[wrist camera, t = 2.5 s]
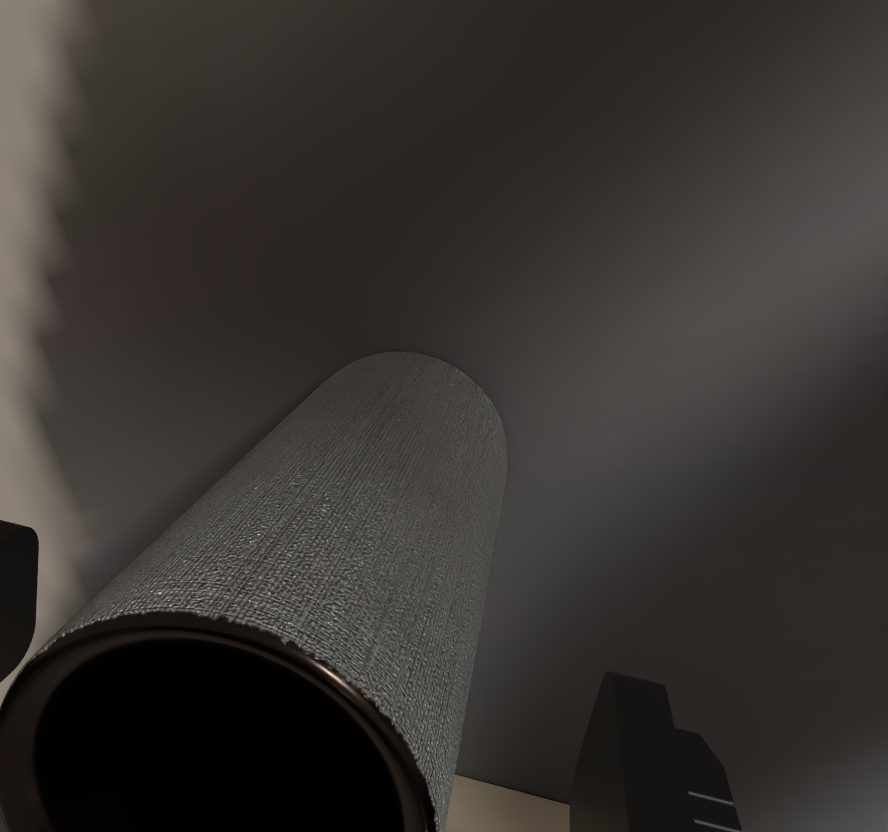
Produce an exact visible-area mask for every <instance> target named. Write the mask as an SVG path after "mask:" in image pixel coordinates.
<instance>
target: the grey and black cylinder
mask: <svg viewBox="0 0 888 832" xmlns="http://www.w3.org/2000/svg"><path fill="white" fill-rule="evenodd" d="M507 470H508V447H507V439H506V435H505V431H504V428H503V425H502V422H501V419H500V417H499V415H498V412H497V410H496V408H495V407H494V405H493V404H492V402H491V400H490V399H489V398H488V396H487V395H486V394H485V392H484V391H483V390H482V389H481V388H480V387H479V386H478V385H477V384H476V383H475V382H474V381H473V380H472V379H471V378H470V377H469V376H467V375H466V374H465V373H463V372H462V371H460V370H459V369H457V368H456V367H454V366H452V365H450V364H449V363H447V362H444V361H442V360H440V359H437V358H434V357H431V356H428V355H424V354H419V353H414V352H400V351H397V352H383V353H378V354H373V355H370V356H366V357H364V358H361V359H358V360H356V361H354V362H352V363H350V364H348V365H347V366H345V367H343V368H342V369H341V370H339V371H338V372H336V373H335V374H333V375H332V376H331V377H329V378H328V379H327V380H326V381H324V382H323V383H322V384H321V385H320V386H319V387H318V388H317V389H316V390H315V391H314V392H313V393H311V394H310V395H309V396H308V397H307V398H306V399H305V400H304V401H303V402H302V403H301V404H300V405H299V406H298V407H297V408H295V409H294V410H293V411H292V412H291V413H290V414H289V415H288V416H287V417H286V418H285V419H284V420H283V421H282V422H281V423H279V424H278V425H277V426H276V427H275V428H274V429H273V430H272V431H271V432H270V433H269V434H268V435H267V436H266V437H265V438H263V439H262V440H261V441H260V442H259V443H258V444H257V445H256V446H255V447H254V448H253V449H252V450H251V451H250V452H249V453H247V454H246V455H245V456H244V457H243V458H242V459H241V460H240V461H239V462H238V463H237V464H236V465H235V466H234V467H233V468H231V469H230V470H229V471H228V472H227V473H226V474H225V475H224V476H223V477H222V478H221V479H220V480H219V481H218V482H217V483H215V484H214V485H213V486H212V487H211V488H210V489H209V490H208V491H207V492H206V493H205V494H204V495H203V496H202V497H201V498H199V499H198V500H197V501H196V502H195V503H194V504H193V505H192V506H191V507H190V508H189V509H188V510H187V511H186V512H184V513H183V514H182V515H181V516H180V517H179V518H178V519H177V520H176V521H175V522H174V523H173V524H172V525H171V526H170V527H168V528H167V529H166V530H165V531H164V532H163V533H162V534H161V535H160V536H159V537H158V538H157V539H156V540H155V541H154V542H152V543H151V544H150V545H149V546H148V547H147V548H146V549H145V550H144V551H143V552H142V553H141V554H140V555H139V556H138V557H136V558H135V559H134V560H133V561H132V562H131V563H130V564H129V565H128V566H127V567H126V568H125V569H124V570H123V571H122V572H120V573H119V574H118V575H117V576H116V577H115V578H114V579H113V580H112V581H111V582H110V583H109V584H108V585H107V586H106V587H104V588H103V589H102V590H101V591H100V592H99V593H98V594H97V595H96V596H95V597H94V598H93V599H92V600H91V601H90V602H88V603H87V604H86V605H85V606H84V607H83V608H82V609H81V610H80V611H79V612H78V613H77V614H76V615H75V616H74V617H73V618H71V619H70V620H69V621H68V622H67V623H66V624H65V625H64V626H63V627H62V628H61V629H60V630H59V631H58V632H57V633H56V634H55V635H54V636H52V637H51V638H50V639H49V640H48V641H47V642H46V643H45V644H44V645H43V646H42V647H41V648H40V649H39V650H38V651H37V652H36V653H35V654H34V655H33V656H32V657H31V658H30V659H29V661H28V662H27V663H26V664H25V665H24V666H23V668H22V669H21V670H20V671H19V673H18V674H17V676H16V677H15V679H14V680H13V682H12V683H11V685H10V687H9V689H8V691H7V693H6V695H5V697H4V699H3V702H2V705H1V707H0V815H1V818H2V820H3V823H4V826H5V828H6V831H7V832H444V831H445V826H446V820H447V815H448V809H449V804H450V798H451V792H452V787H453V781H454V775H455V770H456V764H457V758H458V753H459V747H460V741H461V736H462V730H463V724H464V719H465V713H466V707H467V702H468V696H469V690H470V685H471V679H472V673H473V668H474V662H475V656H476V651H477V645H478V639H479V634H480V628H481V622H482V617H483V611H484V605H485V600H486V594H487V588H488V583H489V577H490V571H491V566H492V560H493V554H494V549H495V543H496V537H497V532H498V526H499V520H500V515H501V509H502V503H503V498H504V492H505V486H506V481H507Z"/></svg>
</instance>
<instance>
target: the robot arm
mask: <svg viewBox="0 0 888 832" xmlns="http://www.w3.org/2000/svg"><path fill="white" fill-rule="evenodd" d="M38 551H39V542H38V537H37V534H36V532H35V531H34V530H33V529H32V528H30V527H26V526H22V525H18V524H14V523H10V522H6V521H2V520H0V682H2V681H3V680H4V679H5V678H6V677H7V676H8V675H9V674H10V673H11V672H12V671H13V670H14V669H15V668H16V667H17V666H18V665H19V663H20V662H21V661H22V659H23V658H24V656H25V654H26V652H27V650H28V648H29V646H30V643H31V641H32V638H33V634H34V630H35V623H36V601H37V576H38ZM569 819H570V832H741V826H740V823H739V819H738V816H737V812H736V809H735V807H733V798H732V794H731V791H730V787H729V784H728V780H727V777H726V773H725V770H724V767H723V765H722V764H721V763H720V761H719V760H718V759H717V757H716V756H715V755H714V753H713V752H712V751H711V749H710V748H709V747H708V745H707V744H706V743H705V741H704V740H703V739H702V737H701V736H700V734H696V733H692V732H688V731H684V730H680V729H676V728H674V723H673V718H672V714H671V709H670V704H669V700H668V695H667V691H666V688H665V686H664V685H662V684H658V683H654V682H650V681H646V680H642V679H638V678H634V677H630V676H626V675H622V674H618V673H614V672H610V671H608V672H607V673H606V674H605V676H604V678H603V680H602V683H601V686H600V689H599V692H598V696H597V699H596V702H595V705H594V709H593V712H592V715H591V719H590V722H589V725H588V729H587V732H586V735H585V738H584V742H583V745H582V748H581V752H580V755H579V758H578V762H577V765H576V769H575V773H574V778H573V784H572V790H571V798H570V812H569Z"/></svg>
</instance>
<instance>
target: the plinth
mask: <svg viewBox="0 0 888 832" xmlns="http://www.w3.org/2000/svg"><path fill="white" fill-rule="evenodd" d="M569 812H570V805H567V804H563V803H560V802H556V801H552V800H548V799H545V798H541V797H537V796H534V795H530V794H526V793H522V792H519V791H515V790H511V789H507V788H504V787H500V786H496V785H492V784H489V783H485V782H481V781H477V780H474V779H470V778H466V777H462V776H459V775H454V781H453V787H452V792H451V798H450V804H449V809H448V815H447V820H446V826H445V831H444V832H570V819H569Z"/></svg>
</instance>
